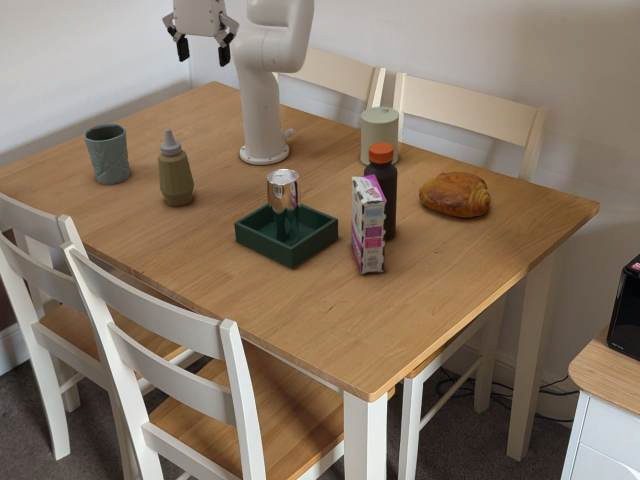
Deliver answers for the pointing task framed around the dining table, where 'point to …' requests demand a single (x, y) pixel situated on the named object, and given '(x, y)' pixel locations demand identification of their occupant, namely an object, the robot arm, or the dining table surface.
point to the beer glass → (284, 204)
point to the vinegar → (385, 180)
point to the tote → (259, 238)
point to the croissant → (456, 194)
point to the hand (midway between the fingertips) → (204, 62)
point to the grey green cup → (108, 152)
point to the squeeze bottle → (174, 172)
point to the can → (379, 130)
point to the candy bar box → (368, 224)
